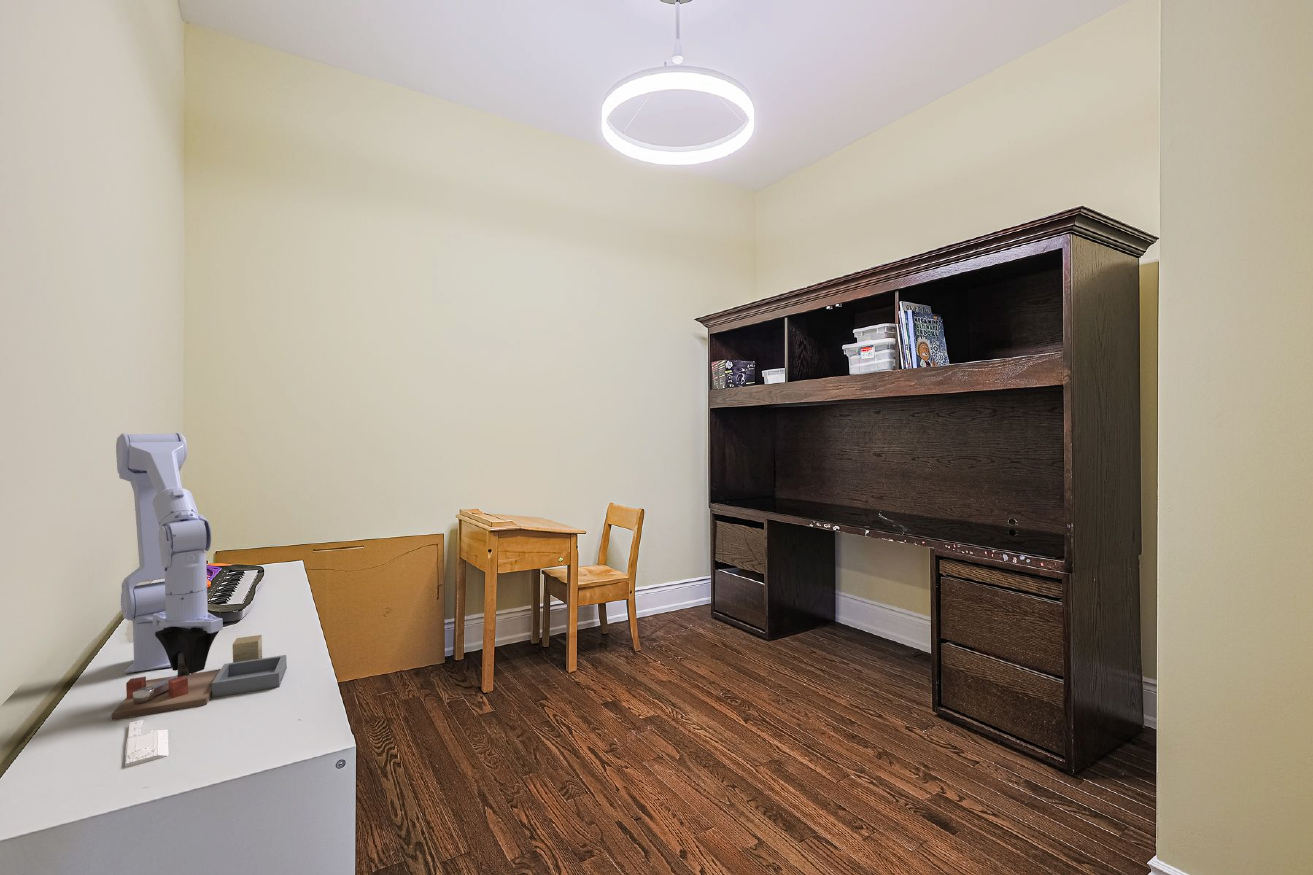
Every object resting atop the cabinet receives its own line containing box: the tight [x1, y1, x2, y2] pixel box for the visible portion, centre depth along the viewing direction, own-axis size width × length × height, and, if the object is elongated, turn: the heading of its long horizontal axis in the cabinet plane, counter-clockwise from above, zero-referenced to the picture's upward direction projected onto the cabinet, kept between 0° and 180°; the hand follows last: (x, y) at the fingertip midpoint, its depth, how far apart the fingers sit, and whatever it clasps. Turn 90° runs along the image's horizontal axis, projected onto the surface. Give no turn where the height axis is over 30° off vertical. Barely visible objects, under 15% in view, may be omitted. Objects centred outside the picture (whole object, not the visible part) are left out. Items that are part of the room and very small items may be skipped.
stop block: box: [232, 634, 263, 663], centre depth 116 cm, size 4×4×5 cm
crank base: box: [111, 668, 221, 721], centre depth 104 cm, size 14×12×4 cm
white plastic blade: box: [124, 719, 170, 769], centre depth 88 cm, size 5×15×1 cm, turn 39°
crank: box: [133, 650, 191, 703], centre depth 102 cm, size 9×3×5 cm, turn 170°
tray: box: [211, 654, 288, 699], centre depth 109 cm, size 10×10×2 cm
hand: (188, 669), depth 106 cm, fingers open, 4 cm apart
